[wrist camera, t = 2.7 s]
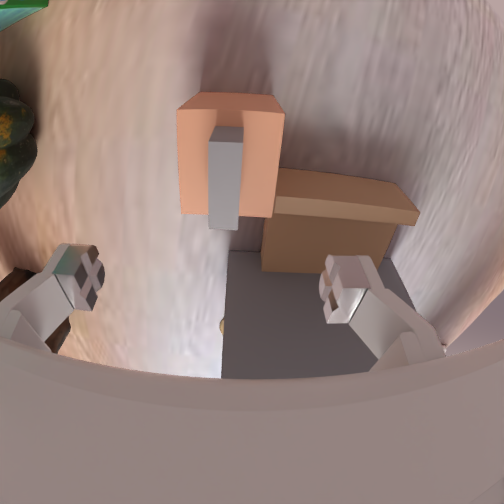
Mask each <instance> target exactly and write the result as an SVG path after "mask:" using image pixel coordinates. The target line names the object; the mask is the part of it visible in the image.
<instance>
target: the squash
mask: <svg viewBox="0 0 504 504" xmlns="http://www.w3.org/2000/svg"><path fill="white" fill-rule="evenodd" d="M33 124H34V114H33V112H32V110H31V108H30V107H29V106H28V105H26V104H25V103H23V102H21V101H19V93H18V90H17V88H16V87H15V85H14V84H12V83H11V82H9V81H8V80H5V79H0V209H1V207H2V206H3V205H4V204H6V203H7V201H8V200H9V199H10V198H11V196H12V195H13V193H14V192H15V190H16V188H17V186H18V184H19V181H20V179H21V178H22V177H23V176H24V175H25V174H26V173H27V172H28V171H29V170H30V168H31V167H32V165H33V163H34V161H35V159H36V157H37V144H36V141H35V139H34V138H33V136H32V135H31V134H30V133H29V132H30V131H31V129H32V127H33Z"/></svg>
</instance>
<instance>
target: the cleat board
mask: <svg viewBox="0 0 504 504" xmlns="http://www.w3.org/2000/svg"><path fill="white" fill-rule="evenodd" d="M419 215H420V211H419V210H418V209H417V208H416V207H415V205H414V204H413V203H412V202H411V201H410V199H409V198H408V197H407V196H406V195H405V194H404V193H403V191H402V190H401V189H400V188H399V187H398V186H397V185H396V184H395V183H391V182H385V181H379V180H374V179H367V178H361V177H355V176H348V175H341V174H333V173H325V172H317V171H308V170H298V169H288V168H278V174H277V182H276V189H275V197H274V204H273V211H272V218H267V217H265V221H264V229H263V237H262V245H261V252H242V251H229V255H228V269H227V283H226V298H225V315H224V332H223V351H222V371H221V379H294V378H312V377H325V376H337V375H346V374H355V373H363V372H369V370H370V369H371V368H372V367H373V366H374V364H375V363H376V362H377V361H378V358H377V357H376V356H375V355H374V354H373V352H372V351H371V350H370V349H369V348H368V347H367V345H366V344H365V343H364V342H363V341H362V339H361V338H360V337H359V336H358V335H357V334H356V332H355V331H354V330H353V329H352V328H351V326H350V325H349V323H331V324H327V322H326V318H325V314H324V310H323V307H324V305H325V302H324V301H323V300H322V299H321V297H320V293H319V281H320V277H321V273H322V272H323V271H324V270H325V269H326V265H325V261H326V258H327V257H328V255H354V256H355V255H368V256H369V257H370V258H371V259H372V261H373V264H374V266H375V268H376V270H377V272H378V274H379V276H380V279H381V281H382V283H383V285H384V287H385V289H389V290H391V291H392V292H393V293H394V294H396V295H397V296H398V297H399V298H400V299H402V300H403V301H404V302H405V303H406V304H408V305H409V306H410V307H411V308H412V309H413V310H415V307H414V305H413V303H412V301H411V299H410V297H409V294H408V292H407V290H406V288H405V286H404V284H403V282H402V280H401V278H400V276H399V274H398V272H397V270H396V268H395V266H394V264H393V262H392V260H391V259H390V258H383V257H384V255H385V253H386V251H387V248H388V246H389V244H390V242H391V239H392V237H393V235H394V232H395V230H396V228H397V225H398V224H400V225H409V226H415V224H416V222H417V219H418V217H419ZM415 311H416V310H415Z"/></svg>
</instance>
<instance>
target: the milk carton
mask: <svg viewBox="0 0 504 504" xmlns="http://www.w3.org/2000/svg"><path fill="white" fill-rule="evenodd" d="M47 6H48V0H0V32H1V31H2V30H4V29H5V28H7V27H9V26H10V25H12V24H14V23H16V22H17V21H19V20H21V19H23V18H25V17H27V16H29V15H30V14H32V13H34V12H36V11H39V10H41V9H43V8H45V7H47Z"/></svg>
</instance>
